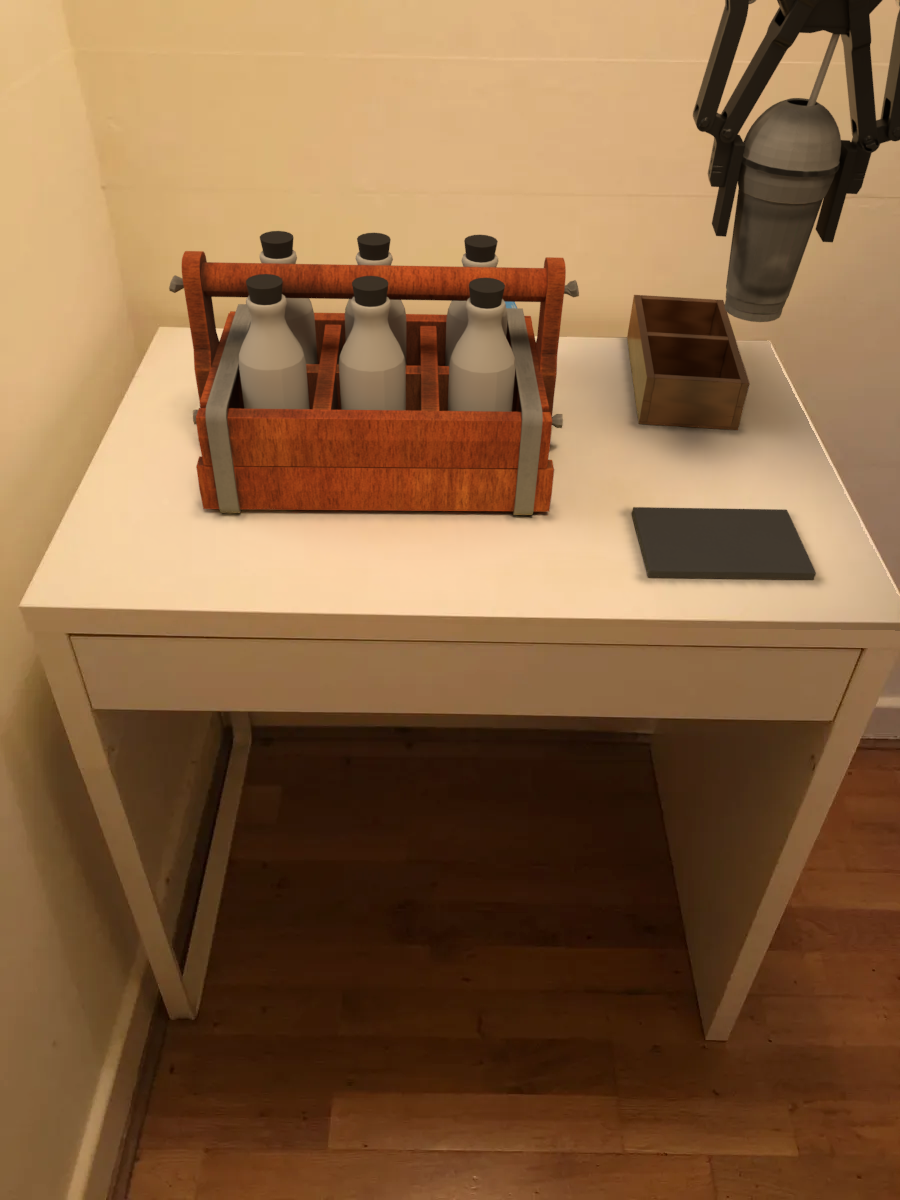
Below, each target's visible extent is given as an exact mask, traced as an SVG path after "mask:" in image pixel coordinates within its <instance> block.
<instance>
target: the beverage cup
mask: <svg viewBox="0 0 900 1200" xmlns="http://www.w3.org/2000/svg"><path fill="white" fill-rule="evenodd" d="M831 34H832V33H831ZM840 37H841V35H838V34H832V35H831V37H830V40H829V42H828V45H827V48H826V51H825V54H824V57H823V60H822V62H821V65H820V68H819V70H818V74H817V76H816V78H815V82H814V84H813V87H812V90H811V93H810V96H809V98H805V97H804V98H802V97H791V98H787V99H784V100H781V101H779V102H776V103H773V105H771V106H769V107H768V108H767V109H765V110H764V111H763V112H762V113H761V114H760V115H759V116H758V117H757V118H756V120H755V121H754V122H753V123H752V124H751V126H750V127H749V129H748V131H747V133H746V135H745V137H744V140H743V142H744V144H745V149H744V154H743V159H742V163H741V168H740V173H739V178H738V182H737V187H738V189H737V197H736V207H735V213H734V222H733V229H732V238H731V244H730V251H729V252H730V253H729V260H728V269H727V277H726V284H725V289H726V290H725V301H724V304H725V310H726V311H727V314H728V315H731V316H732V317H734V318H737V319H739V320H742V321H746V322H752V323H769V322H773V321H776V320H778V319H779V318H781V316H782V314H783V310H784V307H785V305H786V303H787V300H788V299H789V296H790V294H791V291H792V288H793V286H794V282H795V280H796V277H797V274H798V271H799V269H800V265H801V263H802V260H803V257H804V254H805V252H806V249H807V245H808V243H809V240H810V237H811V235H812V232H813V229H814V227H815V223H816V220H817V219H818V218H817V217H818V216H819V215H818V214H819V213H820V210H821V206H822V203H823V199H824V197H825V196H826V194H827V192H828V190H829V188H830V186H831V184H832V181H833V179H834V176H835V173H836V172H837V171H838V169H839V168H840V161H839V159H840V154H841V140H842V138H841V137H842V136H841V133H840V129H839V128H840V127H839V126H838V123H837V121H836V119H835V117H834V116H833V115H832V113H831V112H830V110H829V109H828V108H827V107H825V105H823V104H821V103H820V102H818V101H817V100H818V97H819V94H820V92H821V89H822V86H823V84H824V81H825V78H826V75H827V73H828V69H829V67H830V64H831V61H832V58H833V55H834V53H835V50H836V47H837V46H838V45H837V44H838V41H839V38H840Z"/></svg>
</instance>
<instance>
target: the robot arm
mask: <svg viewBox="0 0 900 1200" xmlns="http://www.w3.org/2000/svg"><path fill="white" fill-rule="evenodd" d="M756 1H757V0H724V4H725V5H724V7H723V11H722V15H721V18H720V21H719V24H718V27H717V31H716V34H715V37H714V41H713V44H712V48H711V51H710V54H709V58H708V61H707V65H706V68H705V71H704V74H703V78H702V81H701V84H700V87H699V91H698V95H697V98H696V101H695V105H694V108H693V110H692V118H693V121H694V124H695V126H696V128H697V130H698V131H699V132H702V133H706V134H709V135H711V136H712V137H713V142H712V149H711V154H710V159H709V165H708V170H707V178H708V182H709V185H710V187H711V188H718V189H717V195H716V199H715V205H714V210H713V215H712V220H711V226H712V228H713V231H714V234H715V236H716V237H725V238H726V237H727V235H728V230H729V225H730V220H731V215H732V211H733V206H734V200H735V196H736V191H737V187H738V178H739V173H740V168H741V163H742V159H743V154H744V149H745V144H744V140H743V138H742V137H741V135H740V131H741V130H742V128H743V126H744V125H745V123H746V121H747V120H748V118H749V116H750V115H751V112H752V111H753V109H754V107H755V106H756V104H757V102H758V100H759V99H760V97H761V95H762V94H763V92H764V90H765V88H766V87H767V85H768V83H769V82H770V80H771V78H772V77H773V75H774V74H775V72H776V70H777V68H778V66H779V65H780V63H781V61H782V59H783V58H784V55H785V54H787V53H786V52H787V51H788V50H789V49H790V48H791V47H792V46H793V44H794V43H795V42H796V40H797V38H798V36H799V34H813V33H817V32H821V31H822V32H823V31H824V32H827V33H830V34H838V35H840V38H841V42H842V47H843V56H844V57H843V58H844V68H845V78H846V87H847V89H846V90H847V99H848V110H849V120H850V129H851V137H852V138H851V140H849V139H841V154H840V159H839V161H840V168H839V169H838V171H837V172H836V173H835V176H834V179H833V181H832V184H831V186H830V188H829V190H828V192H827V194H826V196H825V197H824V198H823V201H822V204H821V206H820V209H819V213H818V214H819V215H818V218H817V222H816V226H815V231H816V233H817V235H818V237H819V238H820V240H821V241H822V243H833V242H834V240H835V237H836V233H837V229H838V226H839V222H840V219H841V215H842V211H843V208H844V204H845V202H846V201H845V200H846V198H847V194H848V195H858V194H859V192H860V191H861V189H862V187H863V184H864V180H865V177H866V173H867V171H868V166H869V163H870V160H871V157H872V153H874V152H876V151H877V150H878V149H879V148H880V145H881V144H884V143H887V142H890V141H892V142H899V141H900V0H895V5H896V7H897V8H899V10H898V13H897V17H896V20H895V26H894V33H893V38H892V43H891V50H890V58H889V64H888V68H887V69H888V70H887V75H886V77H887V78H886V80H885V81H886V82H885V88H884V95H883V101H882V107H881V113H880V119H877V114H876V113H877V112H876V103H875V102H876V101H875V89H874V88H875V87H874V75H873V64H872V63H873V62H872V52H871V51H872V50H871V44H872V30H871V19H870V14H871V13H872V12H873V11H874V10H875V9H876V8H877V7H878V6H879V5H880V4H881V3H882V2H883V0H776V1H777V4H778V6H779V7H778V8H777V10H776V12H775V13H774V16H773V18H772V19H771V20H770V23H769V24H768V27H767V29H766V33H765V35H764V37H763V39H762V40H761V42H760V44H759V46H758V48H757V49H756V51H755V52H754V54H753V57H752V59H751V60H750V62H749V64H748V65H747V67H746V69H745V70H744V72H743V74H742V75H741V78H740V80H739V81H738V83H737V85H736V87H735V89H733V92H732V94H731V96H730V97H729V99H728V101H727V102H726V104H725V106H724V108H723V109H722V111H721V113H719V112H718V111H719V107H720V104H721V101H722V98H723V95H724V93H725V92H724V91H725V88H726V85H727V82H728V78H729V76H730V72H731V70H732V66H733V63H734V60H735V57H736V54H737V50H738V47H739V44H740V42H741V38H742V35H743V32H744V28H745V26H746V21H747V18H748V13H749V7H750V6H749V5H752V4H754V3H755V2H756Z"/></svg>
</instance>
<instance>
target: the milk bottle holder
mask: <svg viewBox="0 0 900 1200" xmlns="http://www.w3.org/2000/svg"><path fill="white" fill-rule="evenodd" d="M356 240H357V241H356V242H357V247H358V252H357V253H356V255H355V261H356V264H333V263H332V264H331V263H330V264H328V263H327V264H326V263H297V260H298V256H297V252H296V250H294V234H293V233H291V232H288V231H284V230H270V231H267V232H264V233H262V234H261V235H260V236H259V241H260V246H261V249H262V250H261V251H260V253H259V261H260V262H220V261H219V262H218V261H217V262H212V261H211V262H210V261H209V262H207V261H208V260H207V256H206V252H205V251H203V250H185V251H184V252H183V254H182V258H181V277H180V276H178V275H173V276H172V279H171V280H170V283H169V287H168V290H169V292H171V293H174V294H176V293H178V292H179V291H181V290H183V291H184V297H185V298H184V299H185V304H186V311H187V315H188V317H187V318H188V323H189V330H190V336H191V342H192V349H193V367H194V368H193V369H194V374H195V375H194V376H195V382H196V389H197V394H198V401H199V408H198V409H193V410H192V422H193V424H194V425H196V430H197V437H198V444H199V449H200V454H201V456H198V459H197V461H196V474H197V481H198V489H199V495H200V498H201V503H202V508H203V510H219V512H220V514H240V513H242V510H281V511H284V510H285V511H286V510H294V511H295V510H296V511H297V510H298V511H300V510H301V511H309V510H310V511H412V512H413V511H415V512H416V511H418V512H419V511H420V512H421V511H422V512H424V511H425V512H427V511H429V512H430V511H431V512H432V511H433V512H436V511H437V512H439V511H441V512H445V511H446V512H512V515H513V516H533V514H534V512H550V508H551V501H552V493H553V485H554V475H555V467H554V461H553V459H549V455H550V449H551V440H552V428H553V427H554V428H555V429H563V426H564V416H563V413H556V414H554V415H553V411H554V410H553V409H554V400H555V393H556V382H557V376H558V375H557V373H558V372H557V371H558V351H559V343H560V333H561V324H562V316H563V307H564V299H565V295H567V296H570V297H571V298H577V297H580V290H579V285H578V282H577V280H576V279H574V280H571V281H569V282H568V283H567V284H566V277H567V276H566V273H567V272H566V271H567V269H566V262H565V261H566V260H565V258H564V257H550V256H549V257H545V258H544V261H543V262H544V263H543V267H502V266H499V267H498V265H499V257H498V256H497V254H496V251H497V246H498V240H497V237H494V236H491V235H489V234H488V235H487V234H472V235H468V236H466V237H465V238H464V241H463V242H464V251H465V252H464V254H462V257H461V264H462V266H450V265H449V266H447V265H444V266H441V265H392V263H393V260H394V258H393V255H392V253H391V252H390V246H391V237H390V236H389V235H387V234H384V233H381V232H366V233H362V234H360V235H358V236H357V238H356ZM213 298H246V299H245V303H237V306H236V310H234V311H231V310H230V311H229V313H228V314H227V316H226V320H225V323H224V326H223V329H222V332H221V334H220V338H219V336H218V333H217V325H216V319H215V311H214V303H213ZM311 299H320V300H321V299H323V300H324V299H325V300H348V301H347V303H346V305H345V309H344V312H314V308H313V304H312V301H311ZM403 301H440V302H441V301H448V302H450V301H451V302H450V303H449V306H448V308H447V313H446V314H438V313H437V314H433V313H425V314H424V313H407V312H406V307H405V306H404V303H403ZM505 302H515V303H516V302H517V303H539V312H538V313H539V314H538V324H537V334H536V335H537V336H536V337H535V332H534V327H533V321H532V315H525V313H524V309H523V308H520V307H519V308H518V307H517V308H506V304H505Z"/></svg>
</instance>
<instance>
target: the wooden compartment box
mask: <svg viewBox="0 0 900 1200" xmlns="http://www.w3.org/2000/svg"><path fill="white" fill-rule="evenodd" d="M736 339H737V338H736V337H735V332H734V330H733V326H732V323H731V320H730V317H729V313H728V312H727V311H726V310H725V301H724V299H716V298H715V299H713V298H712V299H711V298H695V297H682V296H681V297H678V296H662V295H646V294H633V298H632V305H631V309H630V317H629V323H628V329H627V336H626V340H627V347H628V356H629V362H630V370H631V377H632V385H633V391H634V400H635V407H636V414H637V421H638V425H653V426H665V427H666V426H668V427H684V428H698V429H699V428H700V429H714V430H715V429H716V430H727V431H728V430H730V431H738V430H739V427H740V423H741V420H742V415H743V411H744V408H745V404H746V401H747V395H748V392H749V388H750V385H751V384H750V381H749V377H748V373H747V371H746V368H745V364H744V361H743V358H742V355H741V351H740V349H739V345H738V343H737V340H736Z"/></svg>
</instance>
